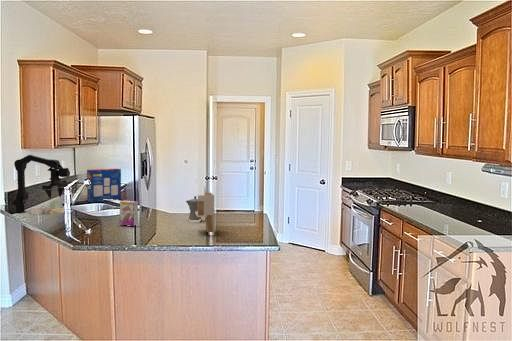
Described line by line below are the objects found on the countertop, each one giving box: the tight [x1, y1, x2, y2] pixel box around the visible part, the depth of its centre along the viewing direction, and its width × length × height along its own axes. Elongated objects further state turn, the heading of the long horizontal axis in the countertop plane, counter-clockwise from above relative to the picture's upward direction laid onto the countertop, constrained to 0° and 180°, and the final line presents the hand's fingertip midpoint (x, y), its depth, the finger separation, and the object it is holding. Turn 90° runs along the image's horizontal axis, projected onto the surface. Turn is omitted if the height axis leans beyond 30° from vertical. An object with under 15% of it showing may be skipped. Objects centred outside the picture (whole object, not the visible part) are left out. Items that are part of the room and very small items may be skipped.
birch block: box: [44, 207, 65, 216], centre depth 319 cm, size 10×10×4 cm
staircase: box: [195, 187, 216, 234], centre depth 265 cm, size 10×16×29 cm, turn 15°
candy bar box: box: [119, 200, 139, 226], centre depth 280 cm, size 11×5×16 cm, turn 71°
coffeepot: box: [185, 195, 202, 220], centre depth 300 cm, size 15×9×18 cm, turn 107°
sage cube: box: [49, 200, 62, 209], centre depth 318 cm, size 5×5×5 cm
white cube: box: [30, 206, 43, 216], centre depth 315 cm, size 5×5×5 cm
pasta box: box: [86, 168, 122, 203], centre depth 384 cm, size 28×8×28 cm, turn 135°
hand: (55, 197), depth 318 cm, fingers open, 9 cm apart
